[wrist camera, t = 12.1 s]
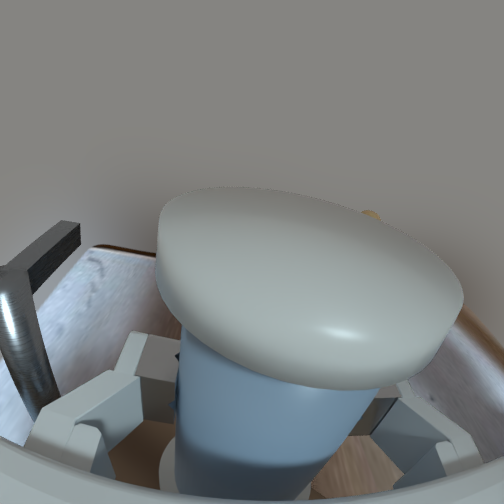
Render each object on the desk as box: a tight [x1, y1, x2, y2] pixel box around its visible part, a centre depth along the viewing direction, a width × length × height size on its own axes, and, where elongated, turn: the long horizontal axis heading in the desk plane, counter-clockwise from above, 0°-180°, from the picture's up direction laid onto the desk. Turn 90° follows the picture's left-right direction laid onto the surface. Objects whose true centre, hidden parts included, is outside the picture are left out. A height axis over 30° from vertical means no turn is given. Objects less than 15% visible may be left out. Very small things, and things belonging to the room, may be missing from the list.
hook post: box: [0, 220, 81, 423], centre depth 12 cm, size 2×6×12 cm, turn 1°
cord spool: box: [155, 187, 464, 501], centre depth 8 cm, size 6×6×11 cm
